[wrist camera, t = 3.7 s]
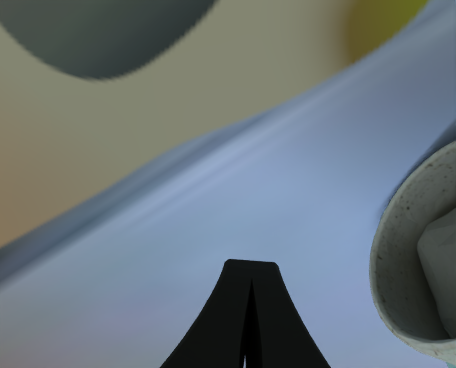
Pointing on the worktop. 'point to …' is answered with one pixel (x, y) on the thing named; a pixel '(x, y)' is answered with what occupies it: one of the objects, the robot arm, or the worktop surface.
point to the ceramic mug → (420, 259)
